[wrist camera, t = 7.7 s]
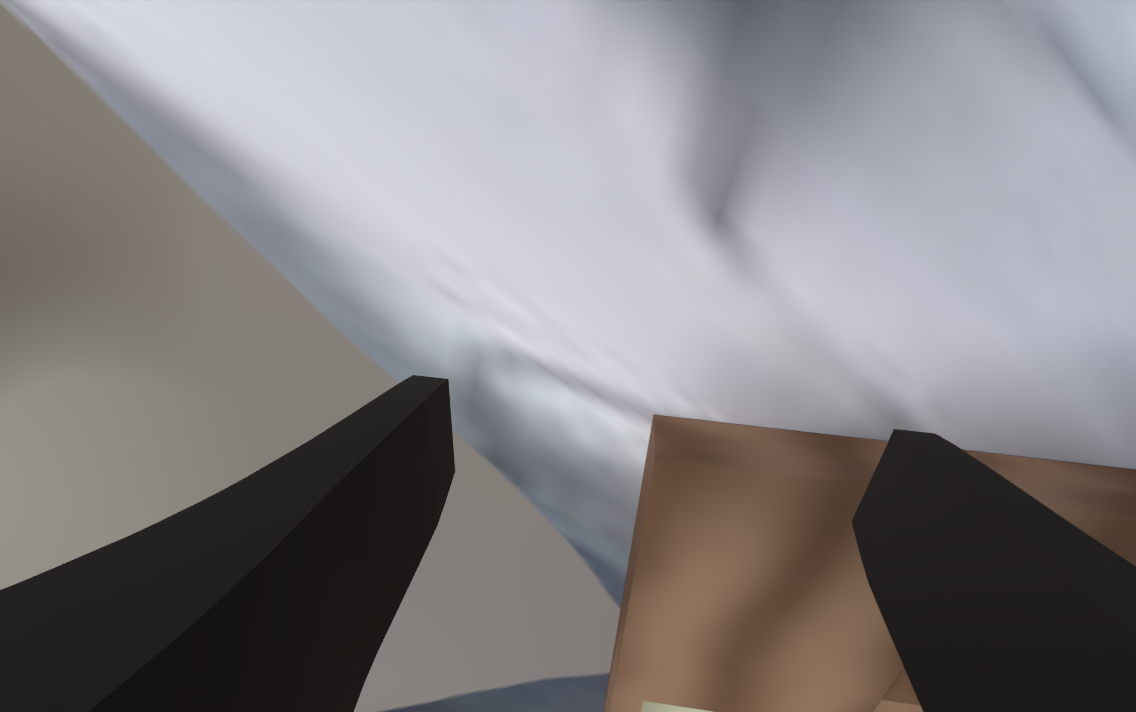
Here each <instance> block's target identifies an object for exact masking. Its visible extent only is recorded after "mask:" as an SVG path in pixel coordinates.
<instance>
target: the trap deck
mask: <svg viewBox="0 0 1136 712" xmlns="http://www.w3.org/2000/svg"><path fill="white" fill-rule="evenodd" d="M887 444H888V441H879V440H870V439H861V438H853V437H844V436H835V435H826V434H817V433H809V432H800V431H791V430H782V429H774V428H765V427H756V426H747V425H739V424H730V423H721V422H712V421H704V420H695V419H686V418H677V417H669V416H660V415H653V421H652V427H651V433H650V439H649V445H648V451H647V457H646V463H645V468H644V474H643V480H642V486H641V492H640V498H639V504H638V510H637V516H636V522H635V528H634V533H633V539H632V545H631V551H630V557H629V563H628V569H627V575H626V581H625V587H624V593H623V598H622V604H621V610H620V616H619V622H618V628H617V634H616V640H615V646H614V652H613V658H612V664H611V669H610V675H609V681H608V687H607V693H606V699H605V705H604V711H603V712H923V710H922V708H921V705H920V703H919V701H918V699H917V696H916V694H915V692H914V689H913V687H912V685H911V682H910V680H909V678H908V675H907V673H906V671H905V668H904V666H903V664H902V661H901V659H900V657H899V654H898V652H897V650H896V648H895V645H894V643H893V641H892V638H891V636H890V634H889V631H888V629H887V626H886V624H885V622H884V619H883V617H882V615H881V612H880V610H879V607H878V605H877V603H876V600H875V598H874V595H873V593H872V590H871V588H870V586H869V583H868V580H867V577H866V573H865V570H864V567H863V563H862V560H861V556H860V553H859V549H858V545H857V541H856V537H855V533H854V529H853V525H852V519H853V517H854V515H855V512H856V510H857V508H858V506H859V504H860V502H861V500H862V497H863V495H864V493H865V491H866V489H867V487H868V485H869V482H870V480H871V478H872V476H873V474H874V472H875V469H876V467H877V465H878V463H879V461H880V459H881V457H882V454H883V452H884V450H885V448H886V446H887ZM963 451H965V452H966V453H968V454H970V455H971V456H973V457H974V458H976V459H977V460H979V461H980V462H982V463H983V464H985V465H986V466H988V467H989V468H991V469H992V470H994V471H995V472H997V473H998V474H1000V475H1001V476H1003V477H1004V478H1006V479H1007V480H1008V481H1010V482H1011V483H1013V484H1014V485H1016V486H1017V487H1019V488H1020V489H1022V490H1023V491H1025V492H1026V493H1027V494H1029V495H1030V496H1032V497H1033V498H1035V499H1036V500H1038V501H1039V502H1041V503H1042V504H1044V505H1045V506H1047V507H1048V508H1049V509H1051V510H1052V511H1054V512H1055V513H1057V514H1058V515H1060V516H1061V517H1063V518H1064V519H1066V520H1067V521H1069V522H1070V523H1071V524H1073V525H1074V526H1076V527H1077V528H1079V529H1080V530H1082V531H1083V532H1085V533H1086V534H1088V535H1089V536H1091V537H1092V538H1094V539H1095V540H1097V541H1098V542H1100V543H1101V544H1103V545H1104V546H1106V547H1107V548H1109V549H1110V550H1112V551H1113V552H1115V553H1116V554H1118V555H1119V556H1121V557H1122V558H1124V559H1125V560H1127V561H1128V562H1130V563H1132V564H1133V565H1135V566H1136V470H1133V469H1124V468H1115V467H1107V466H1098V465H1089V464H1080V463H1072V462H1063V461H1054V460H1045V459H1037V458H1028V457H1019V456H1010V455H1001V454H993V453H984V452H975V451H966V450H963Z"/></svg>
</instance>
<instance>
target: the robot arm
mask: <svg viewBox="0 0 1136 712" xmlns="http://www.w3.org/2000/svg"><path fill="white" fill-rule="evenodd" d="M453 451H454V450H453V438H452V423H451V409H450V396H449V382H448V379H443V378H434V377H425V376H416V375H413V376H411V377H409V378H408V379H406V380H404V381H402V382H401V383H399V384H397V385H396V386H394V387H393V388H391V389H390V390H388V391H386V392H385V393H383V394H382V395H380V396H379V397H377V398H376V399H374V400H372V401H371V402H369V403H368V404H366V405H365V406H363V407H362V408H360V409H359V410H357V411H356V412H354V413H352V414H351V415H349V416H348V417H346V418H345V419H343V420H341V421H340V422H338V423H337V424H335V425H333V426H332V427H330V428H329V429H327V430H326V431H324V432H323V433H321V434H319V435H318V436H316V437H314V438H313V439H312V440H310V441H308V442H306V443H305V444H303V445H301V446H299V447H298V448H296V449H294V450H293V451H291V452H289V453H288V454H286V455H284V456H282V457H280V458H279V459H277V460H275V461H273V462H272V463H270V464H268V465H267V466H265V467H263V468H261V469H260V470H258V471H256V472H255V473H253V474H251V475H249V476H248V477H246V478H244V479H242V480H241V481H239V482H237V483H235V484H233V485H231V486H229V487H228V488H226V489H224V490H222V491H220V492H218V493H216V494H214V495H212V496H211V497H208V498H207V499H205V500H203V501H201V502H199V503H197V504H195V505H193V506H191V507H189V508H186V509H185V510H182V511H180V512H178V513H176V514H174V515H172V516H170V517H168V518H166V519H164V520H162V521H160V522H158V523H156V524H154V525H152V526H149V527H147V528H145V529H143V530H141V531H139V532H136V533H134V534H132V535H130V536H128V537H125V538H123V539H121V540H118V541H116V542H114V543H111V544H109V545H107V546H104V547H102V548H100V549H98V550H95V551H93V552H90V553H88V554H86V555H83V556H81V557H79V558H76V559H74V560H72V561H69V562H67V563H65V564H62V565H60V566H58V567H55V568H53V569H51V570H48V571H46V572H44V573H41V574H39V575H37V576H34V577H32V578H30V579H27V580H25V581H22V582H20V583H17V584H15V585H12V586H10V587H7V588H5V589H2V590H0V712H354V709H355V706H356V704H357V701H358V698H359V696H360V692H361V690H362V687H363V685H364V682H365V680H366V678H367V675H368V673H369V671H370V668H371V666H372V664H373V661H374V659H375V657H376V654H377V652H378V650H379V648H380V646H381V644H382V642H383V639H384V637H385V635H386V633H387V631H388V629H389V627H390V625H391V623H392V620H393V618H394V616H395V614H396V612H397V610H398V608H399V606H400V604H401V602H402V599H403V597H404V595H405V593H406V591H407V589H408V587H409V585H410V583H411V580H412V578H413V576H414V574H415V572H416V570H417V568H418V566H419V564H420V561H421V559H422V557H423V555H424V553H425V551H426V548H427V546H428V544H429V542H430V540H431V538H432V536H433V534H434V531H435V529H436V527H437V525H438V522H439V519H440V516H441V513H442V510H443V507H444V504H445V502H446V498H447V495H448V492H449V489H450V486H451V483H452V479H453V476H454V473H455V464H454V452H453ZM852 525H853V529H854V533H855V537H856V541H857V545H858V549H859V553H860V556H861V560H862V563H863V567H864V570H865V573H866V577H867V580H868V583H869V586H870V588H871V590H872V593H873V595H874V598H875V600H876V603H877V605H878V607H879V610H880V612H881V615H882V617H883V619H884V622H885V624H886V626H887V629H888V631H889V634H890V636H891V638H892V641H893V643H894V645H895V648H896V650H897V652H898V654H899V657H900V659H901V661H902V664H903V666H904V668H905V671H906V673H907V675H908V678H909V680H910V682H911V685H912V687H913V689H914V692H915V694H916V696H917V699H918V701H919V703H920V705H921V708H922V710H923V712H1136V566H1135V565H1133V564H1132V563H1130V562H1128V561H1127V560H1125V559H1124V558H1122V557H1121V556H1119V555H1118V554H1116V553H1115V552H1113V551H1112V550H1110V549H1109V548H1107V547H1106V546H1104V545H1103V544H1101V543H1100V542H1098V541H1097V540H1095V539H1094V538H1092V537H1091V536H1089V535H1088V534H1086V533H1085V532H1083V531H1082V530H1080V529H1079V528H1077V527H1076V526H1074V525H1073V524H1071V523H1070V522H1069V521H1067V520H1066V519H1064V518H1063V517H1061V516H1060V515H1058V514H1057V513H1055V512H1054V511H1052V510H1051V509H1049V508H1048V507H1047V506H1045V505H1044V504H1042V503H1041V502H1039V501H1038V500H1036V499H1035V498H1033V497H1032V496H1030V495H1029V494H1027V493H1026V492H1025V491H1023V490H1022V489H1020V488H1019V487H1017V486H1016V485H1014V484H1013V483H1011V482H1010V481H1008V480H1007V479H1006V478H1004V477H1003V476H1001V475H1000V474H998V473H997V472H995V471H994V470H992V469H991V468H989V467H988V466H986V465H985V464H983V463H982V462H980V461H979V460H977V459H976V458H974V457H973V456H971V455H970V454H968V453H966V452H965V451H963V450H962V449H960V448H959V447H957V446H955V445H954V444H952V443H950V442H949V441H947V440H945V439H943V438H942V437H940V436H938V435H936V434H933V433H924V432H915V431H906V430H897V429H894V431H893V433H892V435H891V437H890V439H889V441H888V444H887V446H886V448H885V450H884V452H883V454H882V457H881V459H880V461H879V463H878V465H877V467H876V469H875V472H874V474H873V476H872V478H871V480H870V482H869V485H868V487H867V489H866V491H865V493H864V495H863V497H862V500H861V502H860V504H859V506H858V508H857V510H856V512H855V515H854V517H853V519H852Z"/></svg>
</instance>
